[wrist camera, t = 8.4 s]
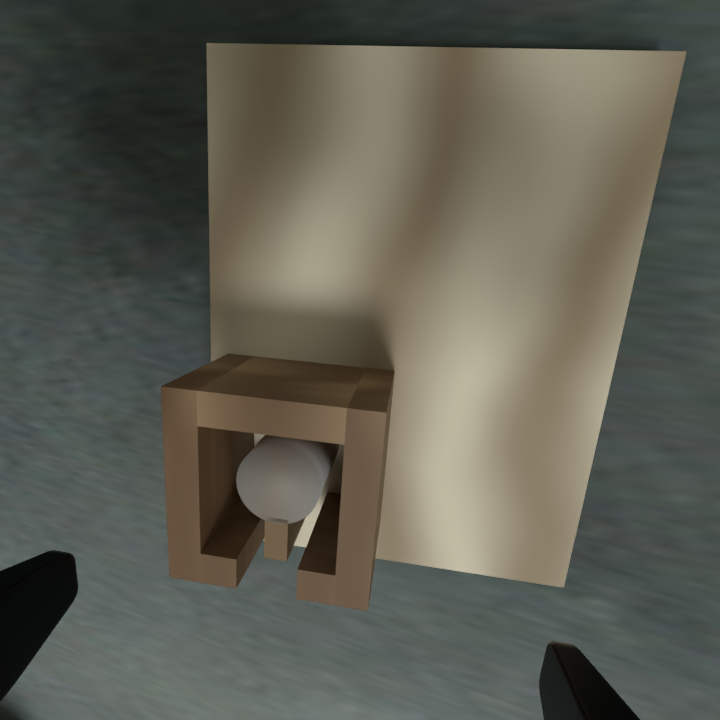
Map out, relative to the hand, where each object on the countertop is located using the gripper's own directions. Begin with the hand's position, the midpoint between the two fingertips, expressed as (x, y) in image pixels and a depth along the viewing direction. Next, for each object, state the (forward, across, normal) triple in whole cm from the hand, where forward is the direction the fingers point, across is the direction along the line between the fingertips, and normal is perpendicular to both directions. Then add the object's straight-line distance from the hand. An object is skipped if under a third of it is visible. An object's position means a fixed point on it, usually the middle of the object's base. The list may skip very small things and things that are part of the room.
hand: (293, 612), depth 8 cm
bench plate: (+11, -1, -3) cm, 11 cm away
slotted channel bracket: (+9, +2, +1) cm, 9 cm away
